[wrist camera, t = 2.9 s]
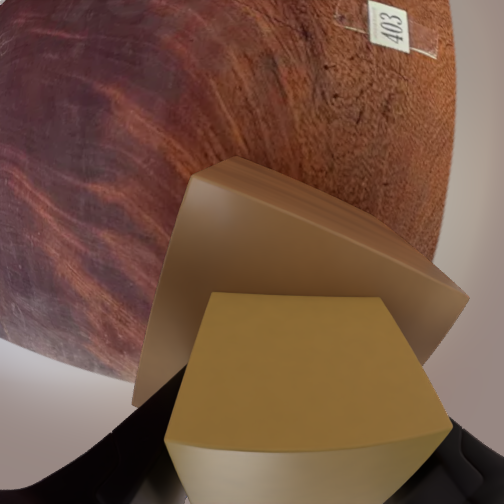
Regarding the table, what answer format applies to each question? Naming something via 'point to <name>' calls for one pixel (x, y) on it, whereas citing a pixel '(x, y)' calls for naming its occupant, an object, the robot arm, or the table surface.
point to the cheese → (301, 403)
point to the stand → (283, 263)
